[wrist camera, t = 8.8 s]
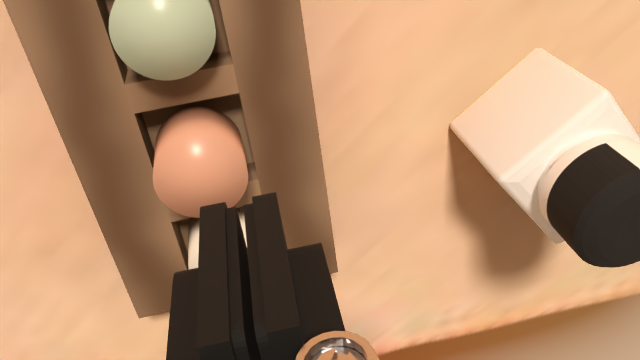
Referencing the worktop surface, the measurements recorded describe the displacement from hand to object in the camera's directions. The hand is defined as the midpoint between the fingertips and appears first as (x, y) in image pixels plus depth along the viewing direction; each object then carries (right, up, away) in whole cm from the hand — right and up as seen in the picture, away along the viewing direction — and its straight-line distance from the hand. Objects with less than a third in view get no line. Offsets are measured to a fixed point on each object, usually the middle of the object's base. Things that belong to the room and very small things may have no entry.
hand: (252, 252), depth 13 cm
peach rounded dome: (-5, +3, +18) cm, 19 cm away
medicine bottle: (+14, +6, +25) cm, 29 cm away
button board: (-6, +5, +20) cm, 21 cm away
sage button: (-6, +10, +16) cm, 20 cm away
